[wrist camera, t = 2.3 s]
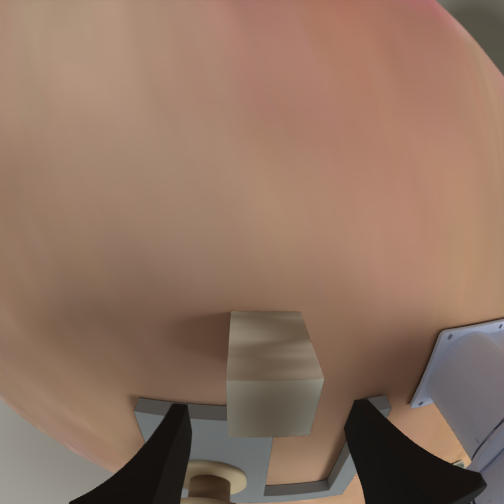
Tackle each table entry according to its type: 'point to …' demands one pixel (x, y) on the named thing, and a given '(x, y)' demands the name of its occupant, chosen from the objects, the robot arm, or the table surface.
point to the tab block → (271, 375)
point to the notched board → (248, 452)
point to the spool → (212, 482)
